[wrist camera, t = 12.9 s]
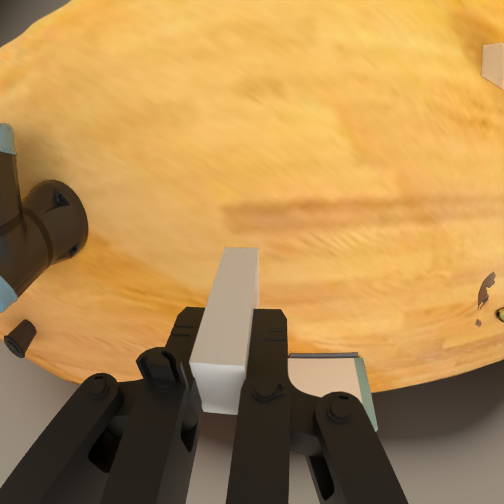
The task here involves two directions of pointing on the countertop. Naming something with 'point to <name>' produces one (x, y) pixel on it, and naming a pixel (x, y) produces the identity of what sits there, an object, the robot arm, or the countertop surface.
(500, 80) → the milk
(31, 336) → the coffee cup
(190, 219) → the countertop surface
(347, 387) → the gate
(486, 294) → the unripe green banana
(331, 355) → the sill
